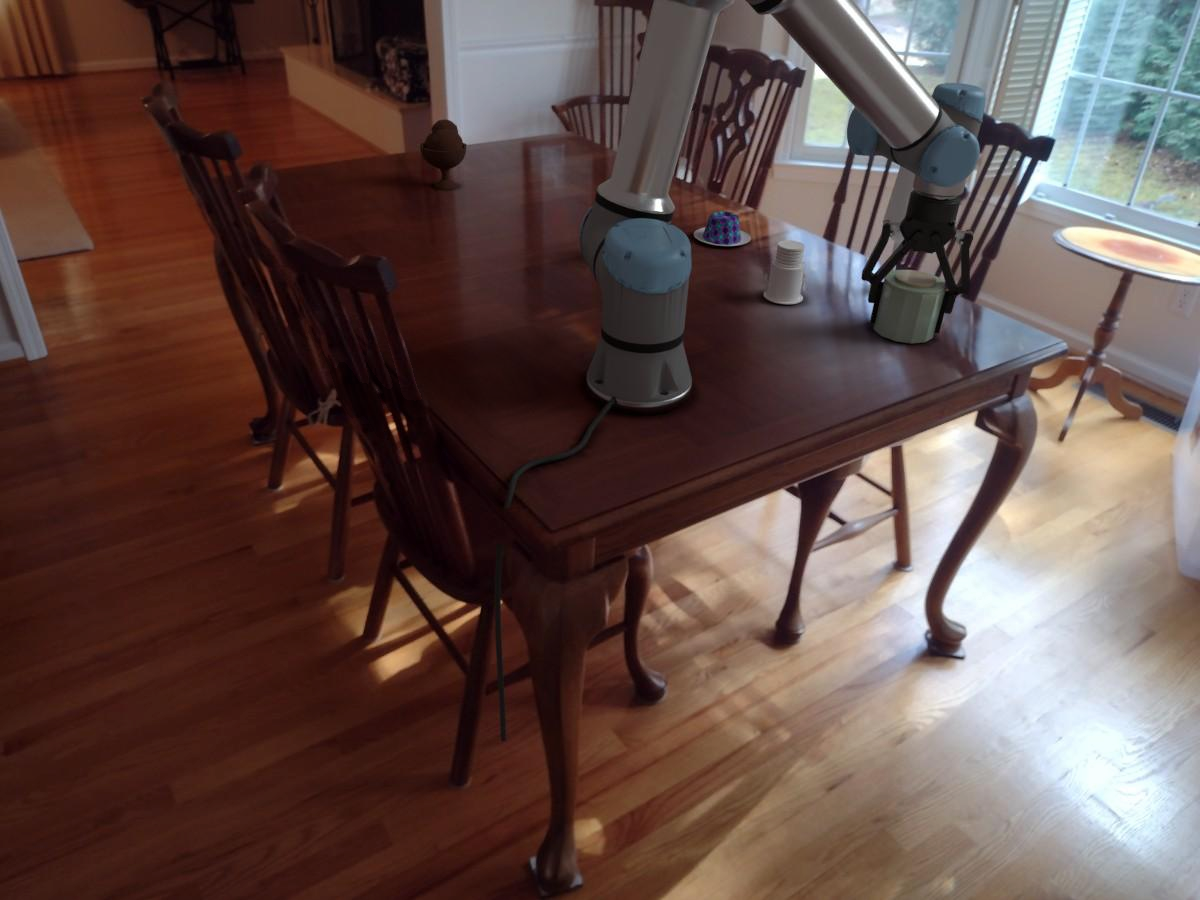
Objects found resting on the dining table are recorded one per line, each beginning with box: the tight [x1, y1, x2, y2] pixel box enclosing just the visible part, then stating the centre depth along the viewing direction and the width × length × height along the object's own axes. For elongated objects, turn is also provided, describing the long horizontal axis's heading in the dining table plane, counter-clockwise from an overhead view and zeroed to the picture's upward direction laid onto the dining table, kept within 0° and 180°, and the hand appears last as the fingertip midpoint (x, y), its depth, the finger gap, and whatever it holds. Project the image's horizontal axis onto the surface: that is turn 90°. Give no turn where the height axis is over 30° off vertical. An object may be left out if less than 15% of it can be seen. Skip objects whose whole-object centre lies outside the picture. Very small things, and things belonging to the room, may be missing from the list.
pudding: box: [693, 210, 752, 247], centre depth 181 cm, size 12×12×5 cm
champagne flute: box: [867, 165, 915, 292], centre depth 155 cm, size 7×7×24 cm
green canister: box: [873, 269, 947, 344], centre depth 144 cm, size 10×10×10 cm
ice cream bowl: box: [419, 119, 467, 191], centre depth 204 cm, size 11×11×15 cm
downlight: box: [763, 239, 807, 305], centre depth 154 cm, size 8×7×10 cm
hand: (904, 325), depth 146 cm, fingers closed on green canister, 10 cm apart
